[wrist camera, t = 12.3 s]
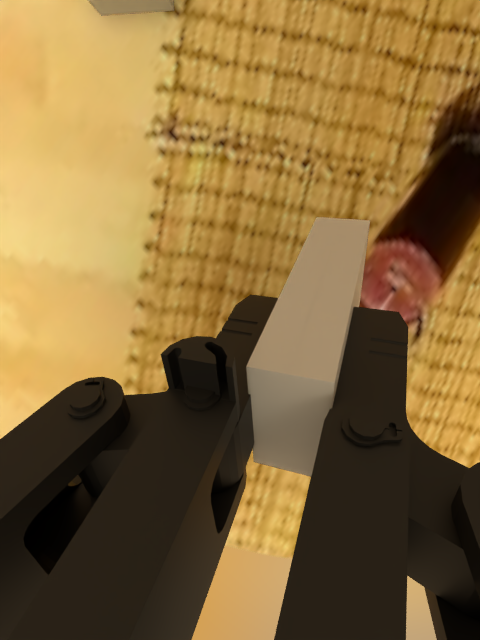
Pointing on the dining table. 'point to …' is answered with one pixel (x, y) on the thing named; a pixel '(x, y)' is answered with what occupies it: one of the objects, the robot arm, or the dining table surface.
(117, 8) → the light grey rectangular block
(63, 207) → the dining table surface
